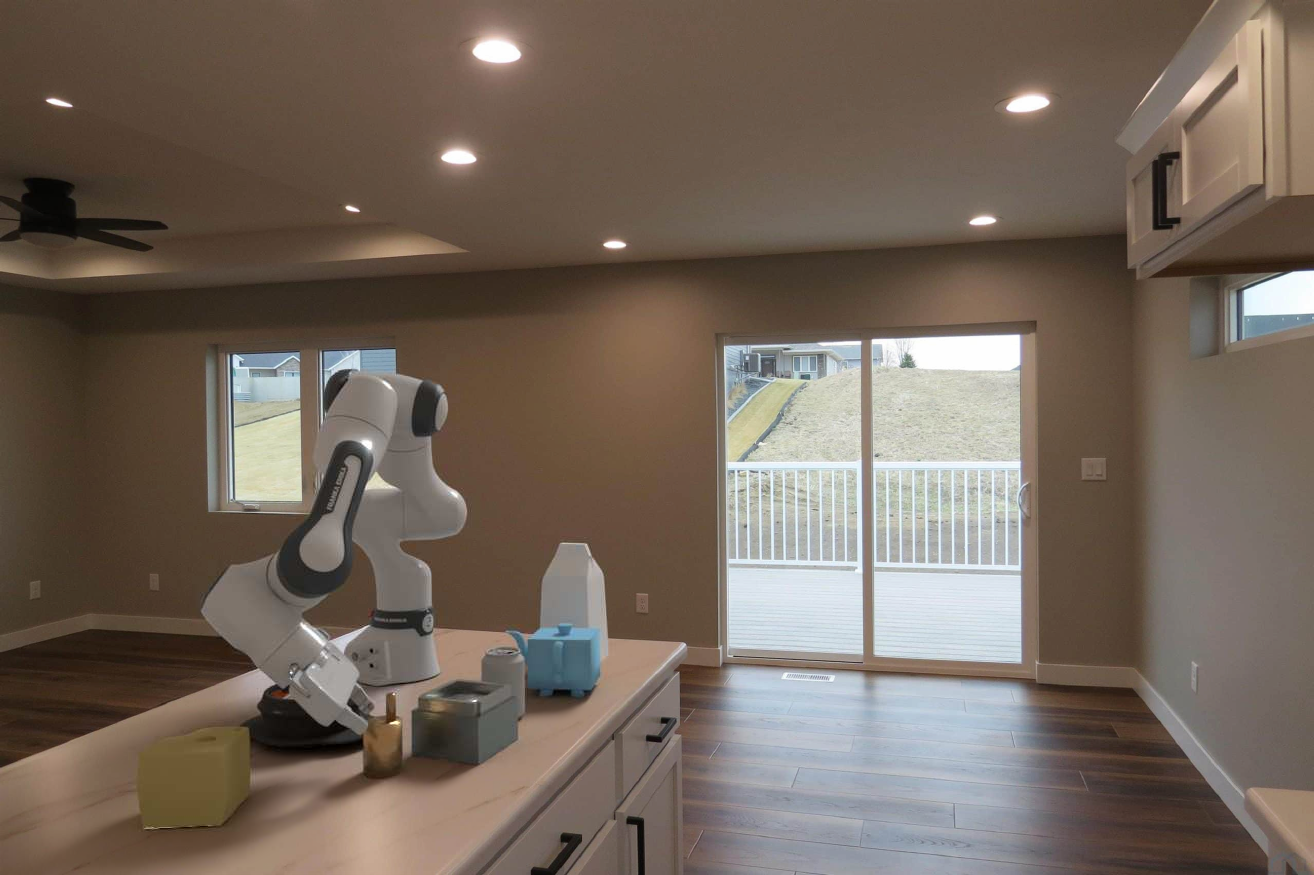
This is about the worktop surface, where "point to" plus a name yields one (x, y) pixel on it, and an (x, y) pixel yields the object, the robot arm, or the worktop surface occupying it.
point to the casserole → (296, 723)
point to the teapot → (561, 658)
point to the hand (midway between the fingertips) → (368, 719)
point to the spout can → (383, 743)
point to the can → (506, 671)
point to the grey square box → (464, 721)
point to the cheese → (194, 778)
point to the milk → (575, 592)
